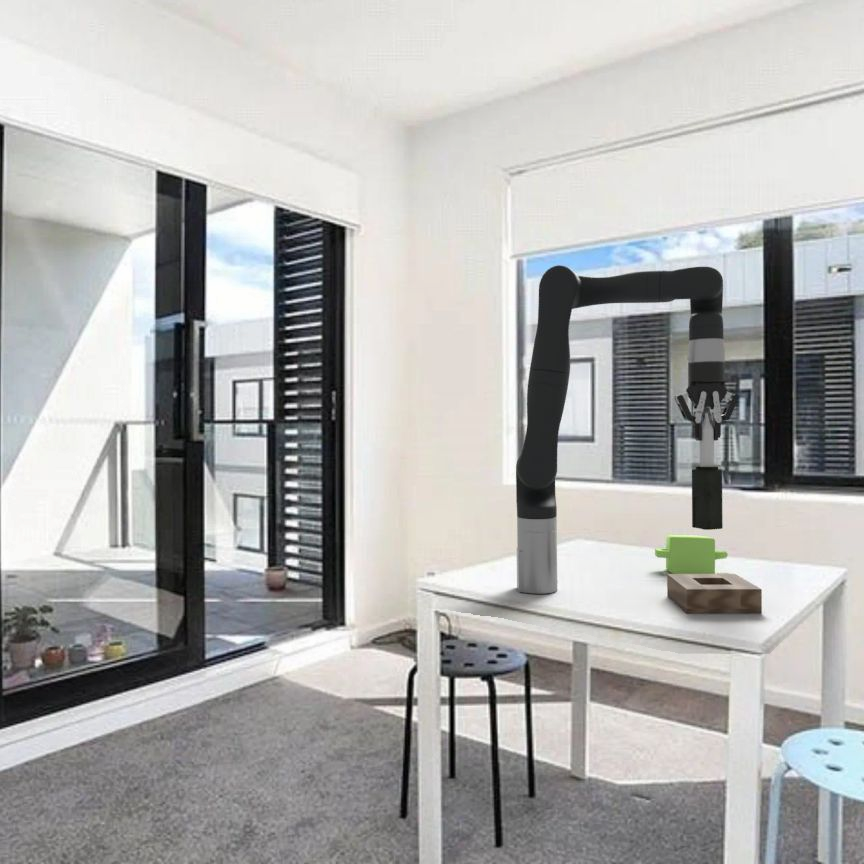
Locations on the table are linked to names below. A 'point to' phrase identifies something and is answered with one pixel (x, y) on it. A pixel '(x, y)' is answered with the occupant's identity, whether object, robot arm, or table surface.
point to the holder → (714, 593)
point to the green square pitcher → (690, 554)
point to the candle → (707, 484)
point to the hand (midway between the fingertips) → (706, 440)
